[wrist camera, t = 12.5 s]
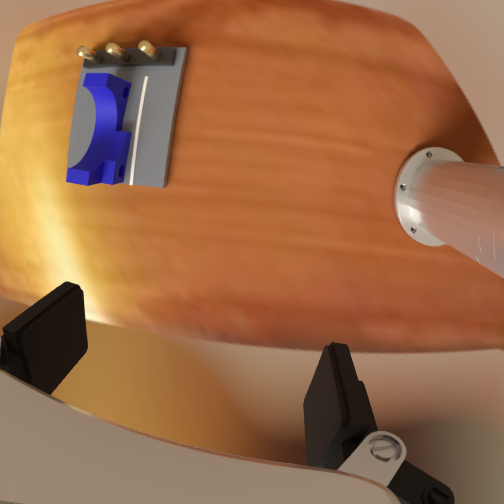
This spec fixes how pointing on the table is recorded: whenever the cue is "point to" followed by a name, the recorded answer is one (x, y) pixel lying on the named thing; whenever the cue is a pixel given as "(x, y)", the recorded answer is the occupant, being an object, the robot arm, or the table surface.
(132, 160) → the header board
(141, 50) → the brass pins
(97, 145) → the blue curved bracket
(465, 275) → the table surface
